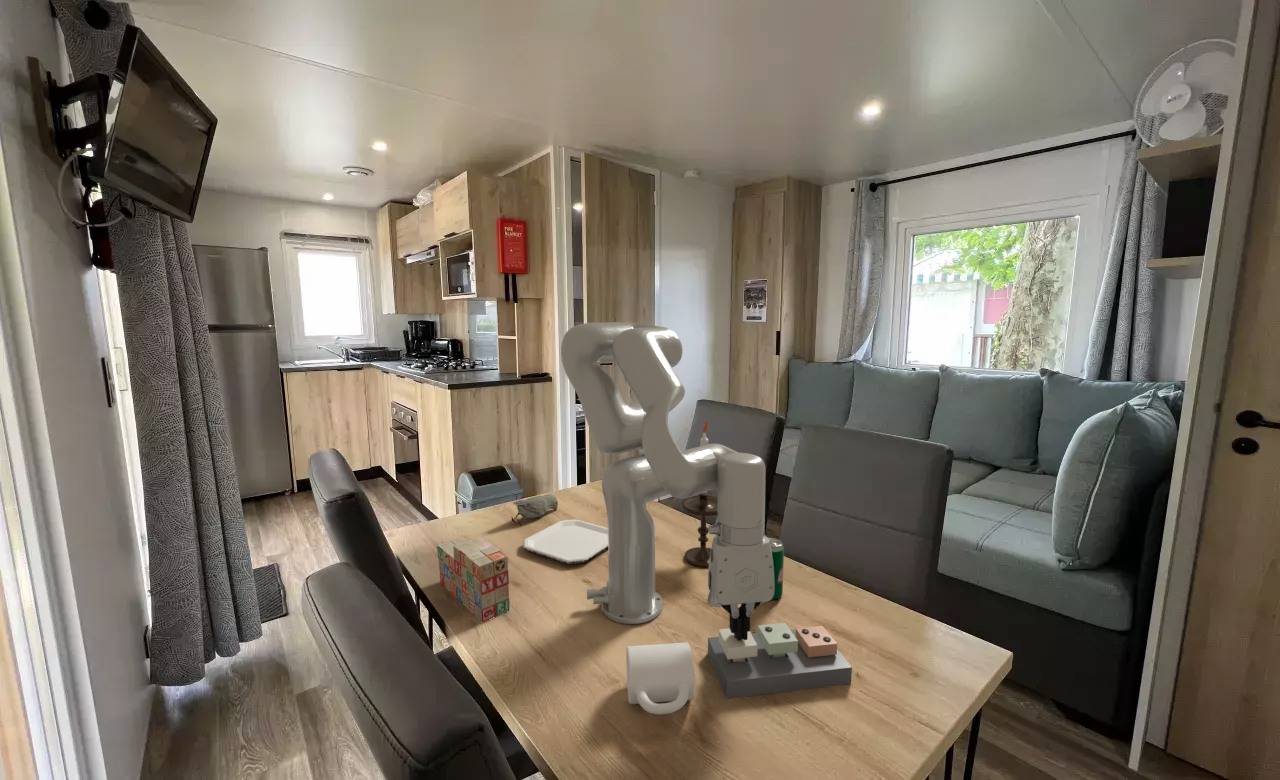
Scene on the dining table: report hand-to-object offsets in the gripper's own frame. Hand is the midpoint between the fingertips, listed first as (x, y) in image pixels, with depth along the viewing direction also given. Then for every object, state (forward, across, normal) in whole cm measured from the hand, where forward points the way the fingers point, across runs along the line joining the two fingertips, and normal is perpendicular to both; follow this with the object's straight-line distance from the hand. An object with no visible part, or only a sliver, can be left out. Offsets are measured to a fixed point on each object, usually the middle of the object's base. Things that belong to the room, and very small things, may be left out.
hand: (739, 635), depth 85 cm
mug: (+7, -14, -5) cm, 17 cm away
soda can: (+7, +15, +22) cm, 28 cm away
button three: (+7, +14, 0) cm, 15 cm away
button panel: (+7, +7, 0) cm, 10 cm away
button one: (+6, 0, 0) cm, 6 cm away
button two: (+6, +7, 0) cm, 9 cm away
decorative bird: (+6, -38, +73) cm, 83 cm away
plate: (+7, -27, +53) cm, 60 cm away
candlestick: (+7, +5, +40) cm, 41 cm away
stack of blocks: (+7, -49, +32) cm, 59 cm away
